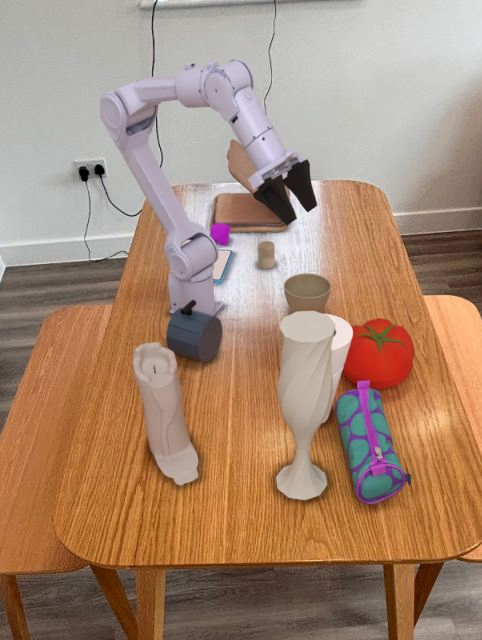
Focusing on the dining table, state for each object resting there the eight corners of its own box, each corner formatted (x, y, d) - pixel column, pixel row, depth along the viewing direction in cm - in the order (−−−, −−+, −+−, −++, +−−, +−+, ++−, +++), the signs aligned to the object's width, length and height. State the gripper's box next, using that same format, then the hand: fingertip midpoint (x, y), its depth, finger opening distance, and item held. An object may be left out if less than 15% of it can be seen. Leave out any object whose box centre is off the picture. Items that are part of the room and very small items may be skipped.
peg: (255, 266, 153) (254, 246, 150) (263, 259, 156) (262, 239, 152) (269, 270, 152) (269, 250, 148) (277, 263, 154) (277, 243, 151)
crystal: (228, 235, 164) (227, 217, 160) (232, 245, 160) (231, 227, 157) (208, 238, 163) (206, 220, 160) (212, 248, 160) (210, 230, 156)
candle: (169, 489, 107) (151, 396, 92) (145, 438, 115) (124, 344, 100) (209, 476, 109) (198, 382, 94) (182, 427, 117) (168, 333, 102)
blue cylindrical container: (200, 371, 127) (169, 360, 130) (223, 347, 132) (193, 337, 135) (195, 322, 119) (162, 312, 121) (220, 298, 124) (187, 289, 126)
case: (290, 233, 164) (291, 167, 152) (208, 234, 165) (203, 168, 152) (290, 198, 177) (291, 134, 165) (214, 198, 178) (210, 135, 166)
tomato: (348, 406, 120) (353, 362, 112) (328, 354, 130) (331, 311, 123) (422, 397, 121) (431, 353, 113) (396, 346, 131) (403, 303, 124)
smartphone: (233, 250, 157) (221, 280, 147) (233, 254, 158) (221, 285, 148) (203, 248, 158) (189, 278, 148) (203, 253, 159) (190, 283, 149)
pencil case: (406, 505, 103) (416, 463, 96) (352, 510, 103) (357, 468, 96) (378, 420, 117) (385, 377, 110) (330, 424, 117) (334, 382, 109)
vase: (274, 464, 110) (272, 310, 87) (322, 460, 111) (333, 305, 88) (279, 502, 105) (279, 348, 82) (330, 498, 105) (344, 343, 82)
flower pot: (326, 330, 136) (328, 299, 130) (279, 325, 137) (279, 295, 132) (332, 304, 142) (334, 274, 137) (287, 300, 144) (287, 271, 138)
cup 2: (278, 427, 116) (278, 344, 103) (296, 392, 123) (299, 308, 109) (335, 440, 114) (343, 356, 100) (350, 403, 120) (360, 319, 106)
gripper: (252, 134, 98) (299, 215, 102) (297, 115, 107) (338, 190, 111) (223, 161, 103) (269, 238, 107) (268, 141, 112) (309, 212, 116)
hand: (302, 215), depth 109 cm, fingers open, 7 cm apart
